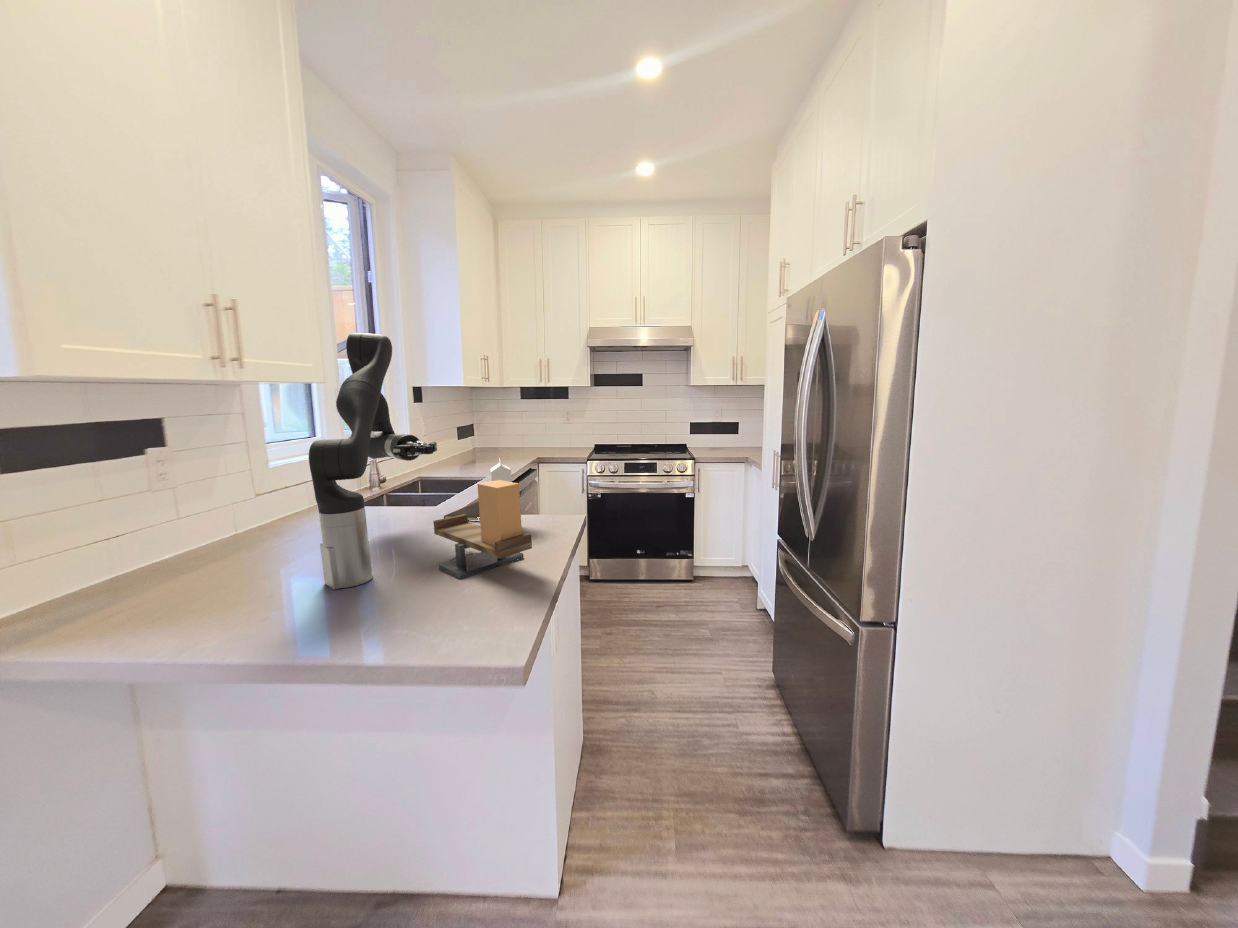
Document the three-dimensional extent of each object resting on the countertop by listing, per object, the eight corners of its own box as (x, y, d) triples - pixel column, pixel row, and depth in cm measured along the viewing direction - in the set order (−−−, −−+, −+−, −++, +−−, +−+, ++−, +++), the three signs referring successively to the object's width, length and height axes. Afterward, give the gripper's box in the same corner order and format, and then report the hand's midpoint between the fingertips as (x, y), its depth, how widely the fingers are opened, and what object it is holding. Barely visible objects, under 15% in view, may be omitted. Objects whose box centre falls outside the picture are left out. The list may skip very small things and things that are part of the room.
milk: (495, 532, 153) (489, 461, 149) (494, 527, 158) (488, 458, 155) (515, 530, 154) (510, 459, 151) (513, 524, 160) (508, 457, 156)
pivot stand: (523, 558, 128) (521, 533, 127) (460, 579, 115) (457, 552, 114) (501, 550, 135) (499, 527, 134) (439, 569, 122) (436, 543, 121)
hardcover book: (518, 507, 186) (518, 501, 186) (485, 524, 164) (484, 517, 164) (481, 505, 191) (480, 499, 190) (443, 521, 169) (443, 515, 169)
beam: (532, 551, 117) (531, 533, 117) (499, 562, 111) (498, 543, 110) (465, 529, 138) (464, 513, 137) (434, 537, 131) (433, 520, 130)
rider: (501, 547, 113) (497, 487, 111) (481, 541, 119) (477, 483, 117) (522, 541, 118) (518, 483, 116) (502, 535, 123) (499, 479, 121)
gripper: (378, 436, 140) (404, 438, 128) (423, 432, 150) (452, 434, 138) (380, 462, 141) (407, 467, 129) (425, 457, 151) (454, 461, 139)
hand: (430, 450), depth 134 cm, fingers closed
